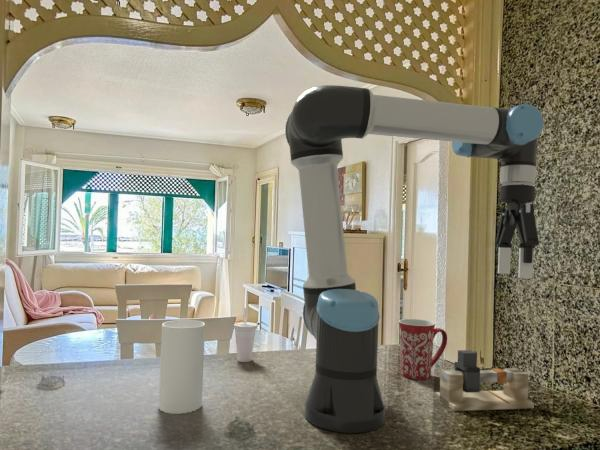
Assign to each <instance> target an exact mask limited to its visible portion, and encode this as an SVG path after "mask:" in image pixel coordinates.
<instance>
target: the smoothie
mask: <svg viewBox="0 0 600 450" xmlns="http://www.w3.org/2000/svg"><path fill="white" fill-rule="evenodd" d="M246 319H247V308H246V307H243V322H241V321H240V322H236V323H234V324H233V329H234V334H235V346H236V347H235V348H236V359H237V362H240V363H247V362H248V363H249V362H251V361H252V357H253V351H254V346H255V345H254V344H255V337H256V333H257V329H258V324H257V323H255V322H249V321H247V320H246Z"/></svg>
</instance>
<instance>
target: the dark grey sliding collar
mask: <svg viewBox="0 0 600 450" xmlns="http://www.w3.org/2000/svg"><path fill="white" fill-rule="evenodd" d="M453 369H454V370H455V371H465V374H464V383H463V391H465V392H480V391H481V390H480V388H481V387H480V386H481V385H480V370H481V368H480V367H478V353H477V352H475V351H474V350H469V349H467V350H465V349H464V350H457V361H454V368H453Z"/></svg>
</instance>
